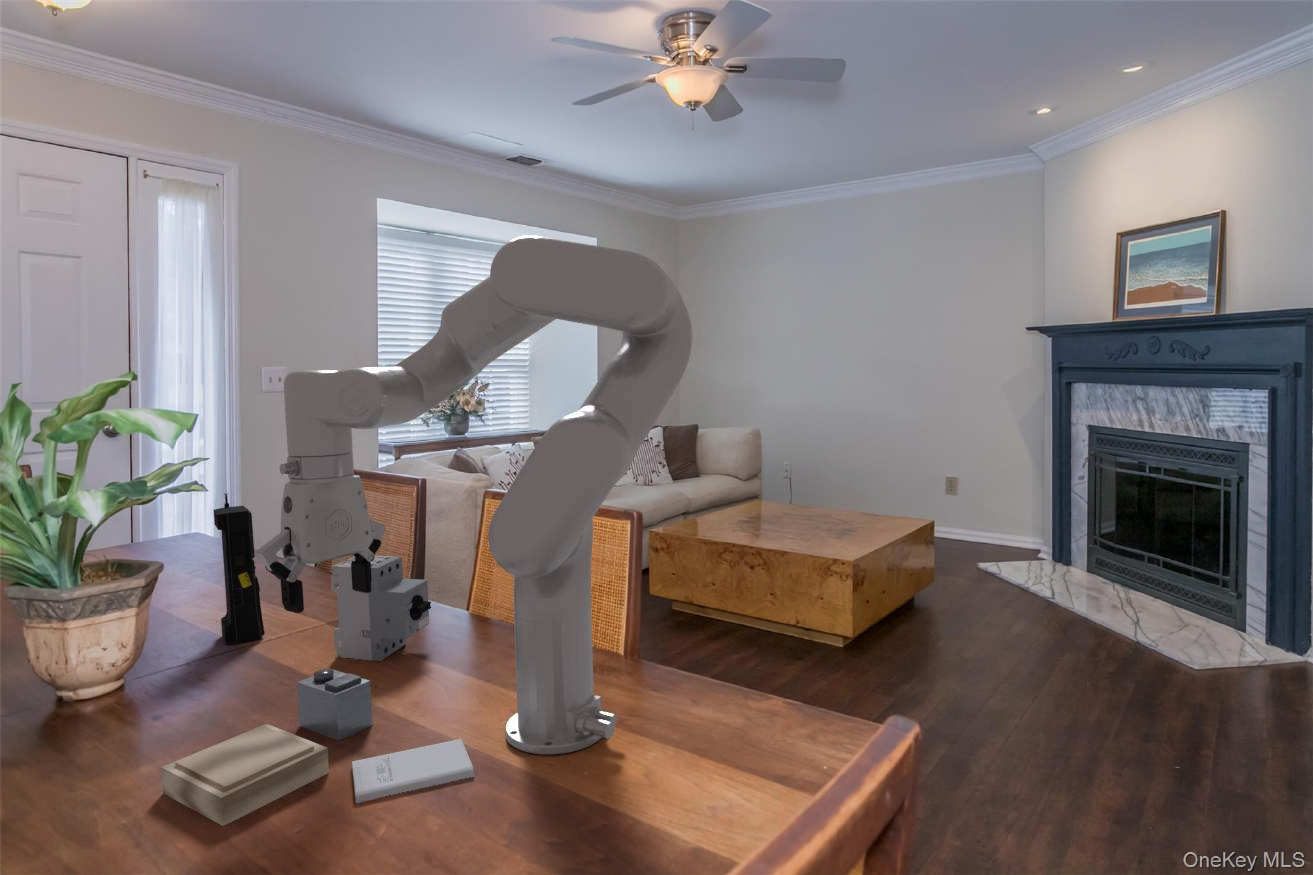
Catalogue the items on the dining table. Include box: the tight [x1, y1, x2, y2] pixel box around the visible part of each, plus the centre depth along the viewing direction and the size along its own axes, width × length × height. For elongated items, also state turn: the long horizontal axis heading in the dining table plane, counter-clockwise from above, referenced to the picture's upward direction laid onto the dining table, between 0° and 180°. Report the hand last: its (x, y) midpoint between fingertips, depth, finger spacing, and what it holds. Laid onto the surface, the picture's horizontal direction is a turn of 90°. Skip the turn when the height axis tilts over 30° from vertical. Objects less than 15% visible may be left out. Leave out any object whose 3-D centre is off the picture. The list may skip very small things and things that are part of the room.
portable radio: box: [213, 493, 266, 645], centre depth 134 cm, size 8×6×25 cm
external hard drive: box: [351, 738, 475, 804], centre depth 88 cm, size 2×8×12 cm
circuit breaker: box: [330, 555, 432, 662], centre depth 126 cm, size 8×14×15 cm, turn 78°
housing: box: [296, 668, 373, 741], centre depth 100 cm, size 8×5×7 cm, turn 58°
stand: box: [160, 723, 330, 827], centre depth 86 cm, size 12×12×3 cm
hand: (329, 600), depth 99 cm, fingers open, 9 cm apart
